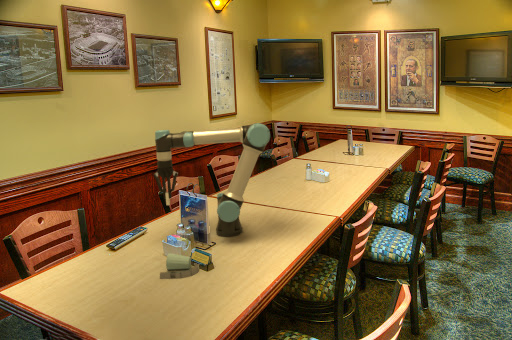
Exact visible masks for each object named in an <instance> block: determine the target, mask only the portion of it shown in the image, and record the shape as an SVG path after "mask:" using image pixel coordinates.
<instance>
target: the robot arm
mask: <svg viewBox="0 0 512 340" xmlns="http://www.w3.org/2000/svg"><path fill="white" fill-rule="evenodd" d="M154 136H155V137H154V138H155V139H154V141H155V151H156V160H157V161H156V163H157V170H156V172H155V173H153V174H152V176H153V177H154V179H155V181H156V185H157V188H158V190H159V192H160V193H162V195H163V199H164V200H165V204H166V206H170V205H171V199H172V192H174V191H175V189H176V184H177V183H176V182H177V177H178V175H179V172H177V171H175V169H174V167H173V160H172V149H176V148H177V149H178V148H179V149H180V148H191V147H194V146H197V145H209V144H223V143H225V144H226V143H237V142H239V143H241V144H242V147H243V150H242V152H241V155H240V158H239V160H238V162H237V164H236V168H235V169H234V170H235V171H234V173H233V174H232V175H233V176H232V178H231V180H230V183H229V185H228V187H227V189H226V190H225V191H223V192H219V193H218V194H217V196H216V199H217V208H216V214H217V216H218V218H217V219H218V220H217V225H216V228H215V234H216V235H217V236H221V237H235V236H239V235H241V234H242V233H243V232H244V229H243V225H242V223H241V220H240V215H241V210H242V206H243V203H244V201H245V200H244V194H245V191H246V188H247V186H248V183H249V181H250V178H251V176H252V173H253V171H254V168H255V166H256V163H257V161H258V158H259V156H260V154H262V153H264V151H265V148H266V146H267V144H268V143H269V142H270V140H271V132H270V129H269V128H268V127H267V125H266V124H263V123H260V122H257V123H256V122H255V123H251V124H246V125H240V126H239V127H235V128H234V127H233V128H232V127H230V128H220V129H219V128H218V129H217V128H216V129H203V130H202V129H201V130H194V131H193V130H191V131H190V130H189V131H187V130H185V131H181V132H174V133H171V132H170V130H169V129H159V130H156V131H154ZM172 175H173V179H172V181H171V177H172ZM159 176H160V177H161V180H160V177H159ZM161 181H162V183H161ZM166 181H167V183H166ZM171 182H172V184H171Z"/></svg>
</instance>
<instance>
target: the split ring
mask: <svg viewBox="0 0 512 340" xmlns="http://www.w3.org/2000/svg"><path fill="white" fill-rule="evenodd" d="M199 265H200V263H199V264H197V263H194V265H193V266H194V267H192V268H190V269H185V270H182V271H166V272H165V271H162V272H161V271H160V273H159V279H161V280H162V279H164V280H165V279H169V280H170V279H184V278H188V277H192V276H193V275H196V274H197V273H198V272H199V269H200V267H199Z"/></svg>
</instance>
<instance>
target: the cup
mask: <svg viewBox="0 0 512 340" xmlns="http://www.w3.org/2000/svg"><path fill="white" fill-rule="evenodd" d="M165 260H166V261H165V267H166V269H167V270H169V271H172V270H190V269H191V267H192V264H191V260H192V257H191V256H186V255H183V254H182V255H181V254H176V253H172V252H171V253H170V252H169V253H167V256H166V259H165Z"/></svg>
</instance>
